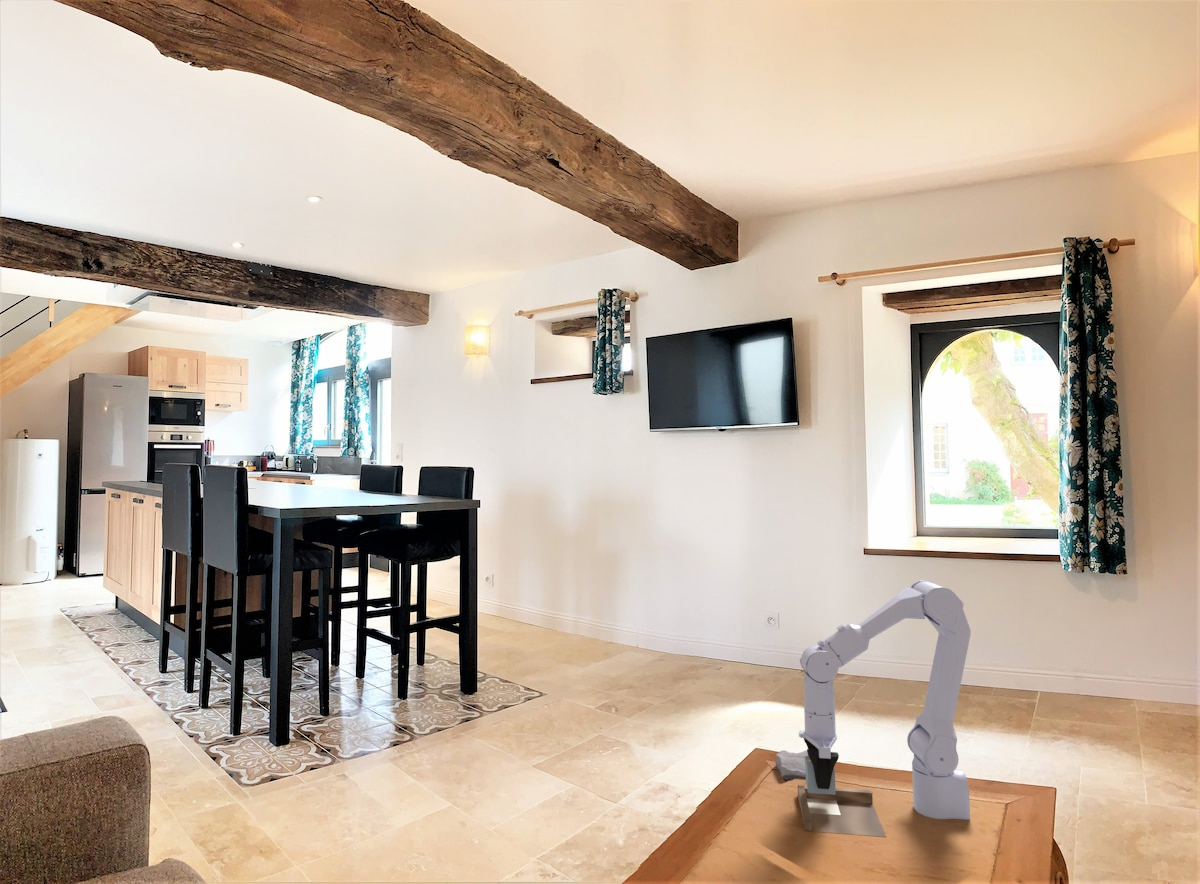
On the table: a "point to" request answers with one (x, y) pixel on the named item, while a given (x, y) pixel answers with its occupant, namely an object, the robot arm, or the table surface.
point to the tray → (840, 812)
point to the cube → (812, 781)
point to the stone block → (791, 764)
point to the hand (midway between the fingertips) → (821, 781)
